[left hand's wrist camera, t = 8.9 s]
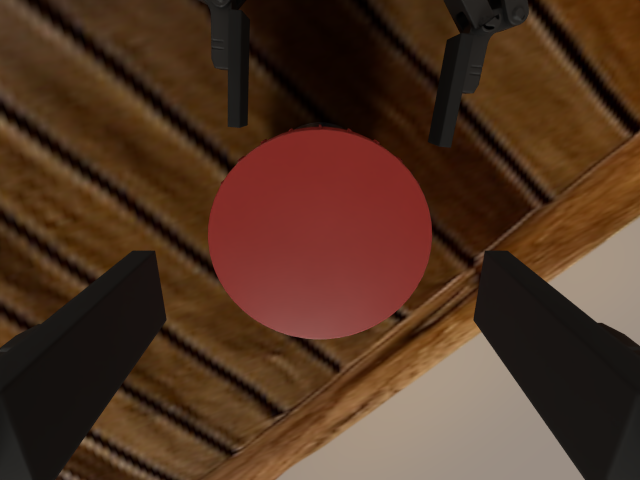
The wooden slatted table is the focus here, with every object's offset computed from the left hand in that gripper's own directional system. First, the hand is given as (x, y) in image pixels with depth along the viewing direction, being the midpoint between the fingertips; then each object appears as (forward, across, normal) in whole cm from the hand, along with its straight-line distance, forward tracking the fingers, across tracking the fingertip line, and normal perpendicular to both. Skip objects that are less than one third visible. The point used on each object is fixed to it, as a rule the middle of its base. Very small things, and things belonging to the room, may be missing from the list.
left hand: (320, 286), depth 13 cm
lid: (+4, 0, 0) cm, 4 cm away
